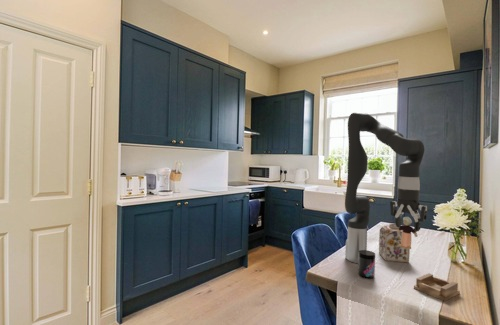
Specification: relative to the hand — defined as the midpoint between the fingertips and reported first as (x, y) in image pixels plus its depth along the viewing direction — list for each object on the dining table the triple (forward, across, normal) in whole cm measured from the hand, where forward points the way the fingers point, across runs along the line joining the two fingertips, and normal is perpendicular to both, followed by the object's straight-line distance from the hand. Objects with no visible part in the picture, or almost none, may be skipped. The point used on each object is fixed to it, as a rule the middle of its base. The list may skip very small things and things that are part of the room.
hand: (407, 228), depth 106 cm
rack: (+24, +8, +8) cm, 26 cm away
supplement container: (+24, -14, -5) cm, 28 cm away
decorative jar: (+24, -22, +28) cm, 43 cm away
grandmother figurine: (+8, 0, 0) cm, 8 cm away
